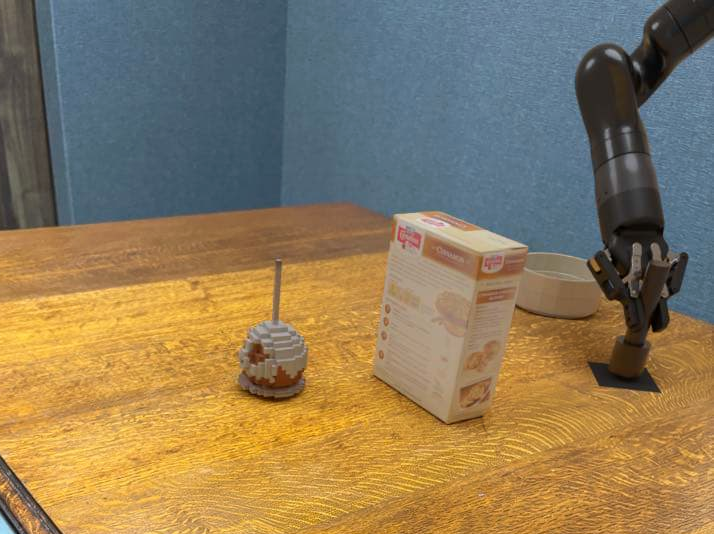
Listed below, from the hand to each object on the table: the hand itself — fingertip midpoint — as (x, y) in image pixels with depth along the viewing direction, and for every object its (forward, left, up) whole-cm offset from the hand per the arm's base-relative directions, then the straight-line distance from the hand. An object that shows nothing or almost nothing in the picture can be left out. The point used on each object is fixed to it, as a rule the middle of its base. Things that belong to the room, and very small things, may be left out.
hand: (649, 329), depth 101 cm
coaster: (+1, -2, -8) cm, 8 cm away
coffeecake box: (+27, +9, -8) cm, 29 cm away
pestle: (+1, -2, -6) cm, 7 cm away
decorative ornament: (+46, +12, -8) cm, 48 cm away
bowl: (+6, -30, -8) cm, 31 cm away
